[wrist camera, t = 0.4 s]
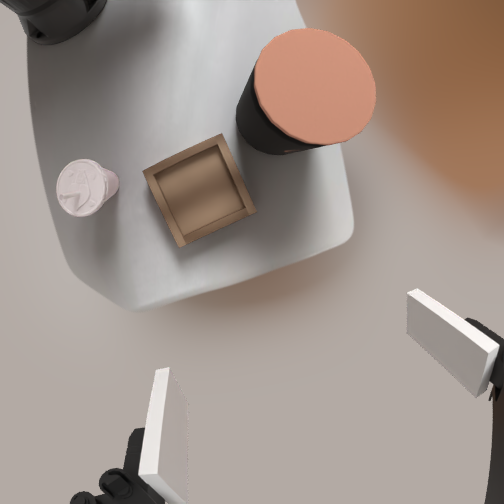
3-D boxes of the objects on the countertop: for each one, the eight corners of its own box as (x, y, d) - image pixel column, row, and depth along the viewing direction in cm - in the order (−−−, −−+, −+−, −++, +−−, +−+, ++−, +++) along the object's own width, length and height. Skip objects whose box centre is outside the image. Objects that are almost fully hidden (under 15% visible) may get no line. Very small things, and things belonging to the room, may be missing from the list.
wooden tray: (149, 171, 38) (142, 171, 34) (220, 137, 38) (221, 133, 34) (182, 240, 41) (179, 247, 37) (252, 208, 41) (256, 212, 37)
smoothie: (84, 203, 38) (33, 219, 24) (90, 158, 36) (40, 155, 23) (124, 210, 39) (86, 229, 25) (132, 163, 37) (95, 160, 24)
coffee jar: (272, 171, 40) (318, 172, 23) (218, 115, 37) (225, 73, 20) (326, 123, 39) (397, 99, 22) (275, 68, 36) (318, 9, 19)
